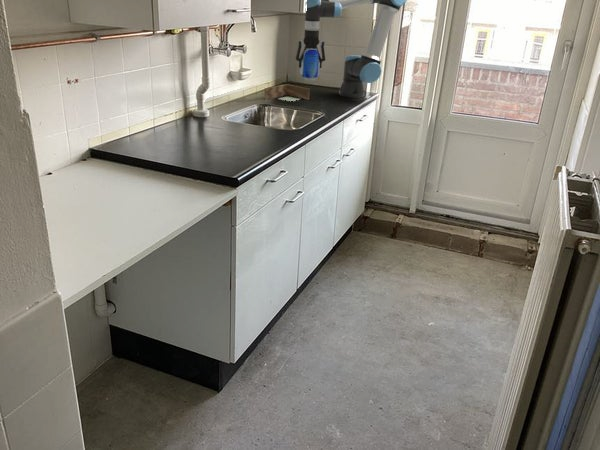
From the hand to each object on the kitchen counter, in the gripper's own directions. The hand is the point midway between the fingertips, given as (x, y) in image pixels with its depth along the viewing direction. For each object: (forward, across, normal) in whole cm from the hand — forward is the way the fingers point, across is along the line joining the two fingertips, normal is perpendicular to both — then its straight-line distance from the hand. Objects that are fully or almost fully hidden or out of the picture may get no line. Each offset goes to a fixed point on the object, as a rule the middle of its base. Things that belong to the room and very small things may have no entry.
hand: (309, 74), depth 286 cm
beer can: (+3, 0, 0) cm, 3 cm away
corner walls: (+15, -11, +7) cm, 20 cm away
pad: (+15, -10, +7) cm, 19 cm away
